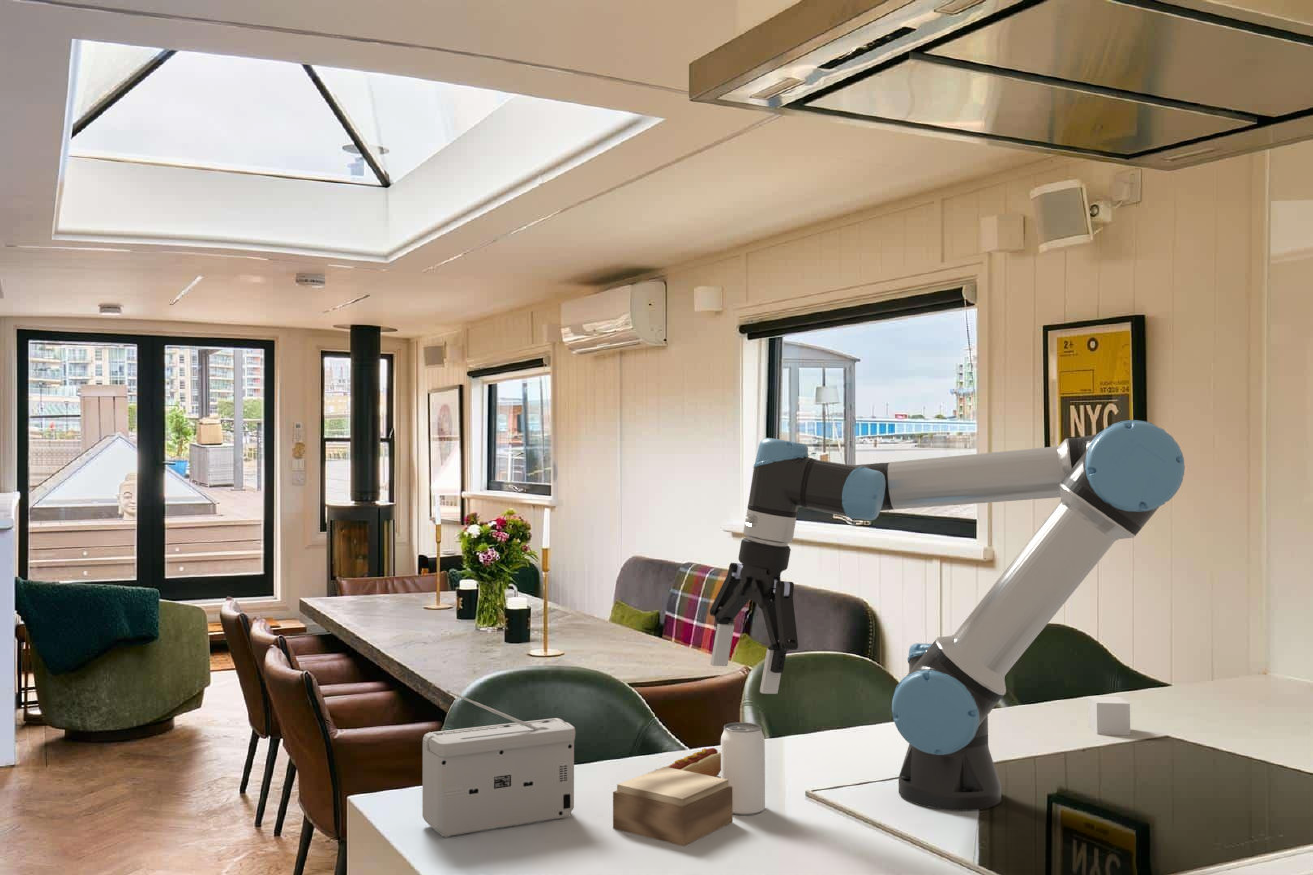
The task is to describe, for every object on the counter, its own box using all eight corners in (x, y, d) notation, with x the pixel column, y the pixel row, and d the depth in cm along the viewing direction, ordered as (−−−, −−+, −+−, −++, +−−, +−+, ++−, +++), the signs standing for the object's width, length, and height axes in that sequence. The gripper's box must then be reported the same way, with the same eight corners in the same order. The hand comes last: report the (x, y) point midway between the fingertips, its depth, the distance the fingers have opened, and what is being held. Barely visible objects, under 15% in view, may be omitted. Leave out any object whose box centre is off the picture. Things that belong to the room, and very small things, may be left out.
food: (686, 799, 161) (686, 766, 161) (655, 793, 164) (655, 761, 164) (729, 777, 173) (729, 746, 173) (700, 772, 176) (700, 741, 176)
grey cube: (1097, 734, 200) (1096, 702, 201) (1088, 727, 206) (1087, 696, 207) (1130, 735, 200) (1129, 703, 200) (1120, 728, 206) (1120, 696, 206)
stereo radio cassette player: (558, 803, 159) (558, 669, 160) (580, 819, 151) (580, 678, 152) (420, 825, 149) (421, 682, 150) (436, 843, 142) (437, 692, 143)
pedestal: (732, 822, 150) (732, 779, 150) (683, 845, 140) (683, 800, 141) (664, 806, 157) (664, 765, 157) (613, 828, 148) (613, 784, 148)
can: (762, 817, 152) (762, 732, 153) (718, 814, 153) (717, 730, 154) (767, 803, 158) (766, 722, 159) (724, 800, 160) (724, 720, 160)
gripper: (702, 523, 169) (680, 654, 170) (796, 555, 147) (770, 705, 148) (741, 527, 173) (719, 655, 173) (838, 559, 151) (812, 705, 152)
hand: (742, 678), depth 161 cm, fingers open, 13 cm apart
